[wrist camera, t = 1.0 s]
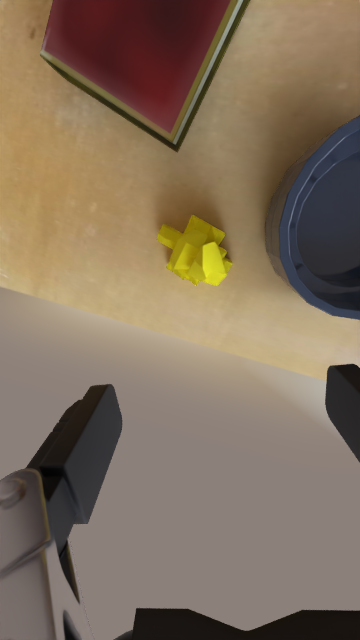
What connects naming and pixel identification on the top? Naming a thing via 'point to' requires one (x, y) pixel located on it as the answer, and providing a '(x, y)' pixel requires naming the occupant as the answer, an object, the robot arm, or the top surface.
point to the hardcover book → (143, 55)
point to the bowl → (320, 224)
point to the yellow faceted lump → (196, 252)
